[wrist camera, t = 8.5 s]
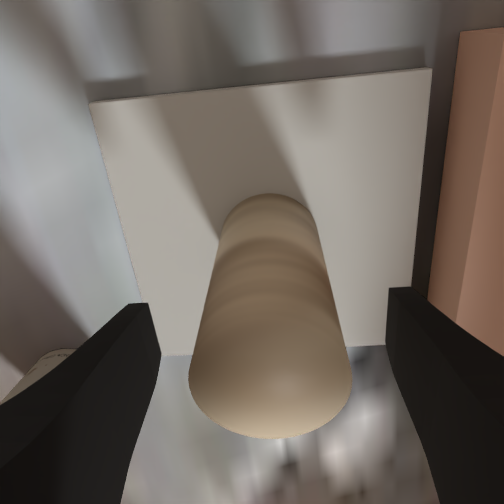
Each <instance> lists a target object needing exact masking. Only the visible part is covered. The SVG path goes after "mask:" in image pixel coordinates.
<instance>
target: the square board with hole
mask: <svg viewBox="0 0 504 504" xmlns="http://www.w3.org/2000/svg"><path fill="white" fill-rule="evenodd" d="M427 300H428V301H429V302H430V303H431V304H432V305H434V306H435V307H436V308H437V309H439V310H440V311H441V312H442V313H444V314H445V315H446V316H447V317H449V318H450V319H451V320H452V321H454V322H455V323H456V324H458V325H459V326H460V327H462V328H463V329H464V330H466V331H467V332H468V333H470V334H471V335H473V336H474V337H475V338H477V339H478V340H480V341H481V342H483V343H484V344H486V345H487V346H489V347H490V348H491V349H493V350H495V351H496V352H498V353H499V354H501V355H502V356H504V27H500V28H491V29H481V30H472V31H463V32H460V38H459V46H458V54H457V62H456V70H455V78H454V86H453V94H452V103H451V111H450V119H449V127H448V135H447V143H446V151H445V159H444V167H443V175H442V184H441V192H440V200H439V208H438V216H437V224H436V232H435V240H434V248H433V256H432V265H431V273H430V281H429V289H428V297H427Z"/></svg>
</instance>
